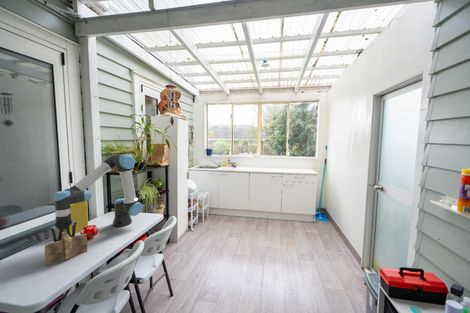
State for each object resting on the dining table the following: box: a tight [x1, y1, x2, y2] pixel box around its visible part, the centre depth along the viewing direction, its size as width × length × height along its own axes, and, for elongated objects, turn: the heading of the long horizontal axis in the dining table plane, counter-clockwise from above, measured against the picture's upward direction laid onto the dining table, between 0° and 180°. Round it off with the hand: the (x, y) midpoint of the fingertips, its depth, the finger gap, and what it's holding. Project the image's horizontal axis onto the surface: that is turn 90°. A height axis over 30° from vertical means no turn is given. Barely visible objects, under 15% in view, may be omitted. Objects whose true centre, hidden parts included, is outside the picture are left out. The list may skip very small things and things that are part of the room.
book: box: [62, 201, 89, 235], centre depth 161 cm, size 17×7×25 cm, turn 168°
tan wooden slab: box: [61, 232, 73, 260], centre depth 125 cm, size 3×14×12 cm, turn 52°
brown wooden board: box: [44, 232, 88, 266], centre depth 124 cm, size 20×3×12 cm, turn 142°
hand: (64, 249), depth 128 cm, fingers closed on tan wooden slab, 3 cm apart
